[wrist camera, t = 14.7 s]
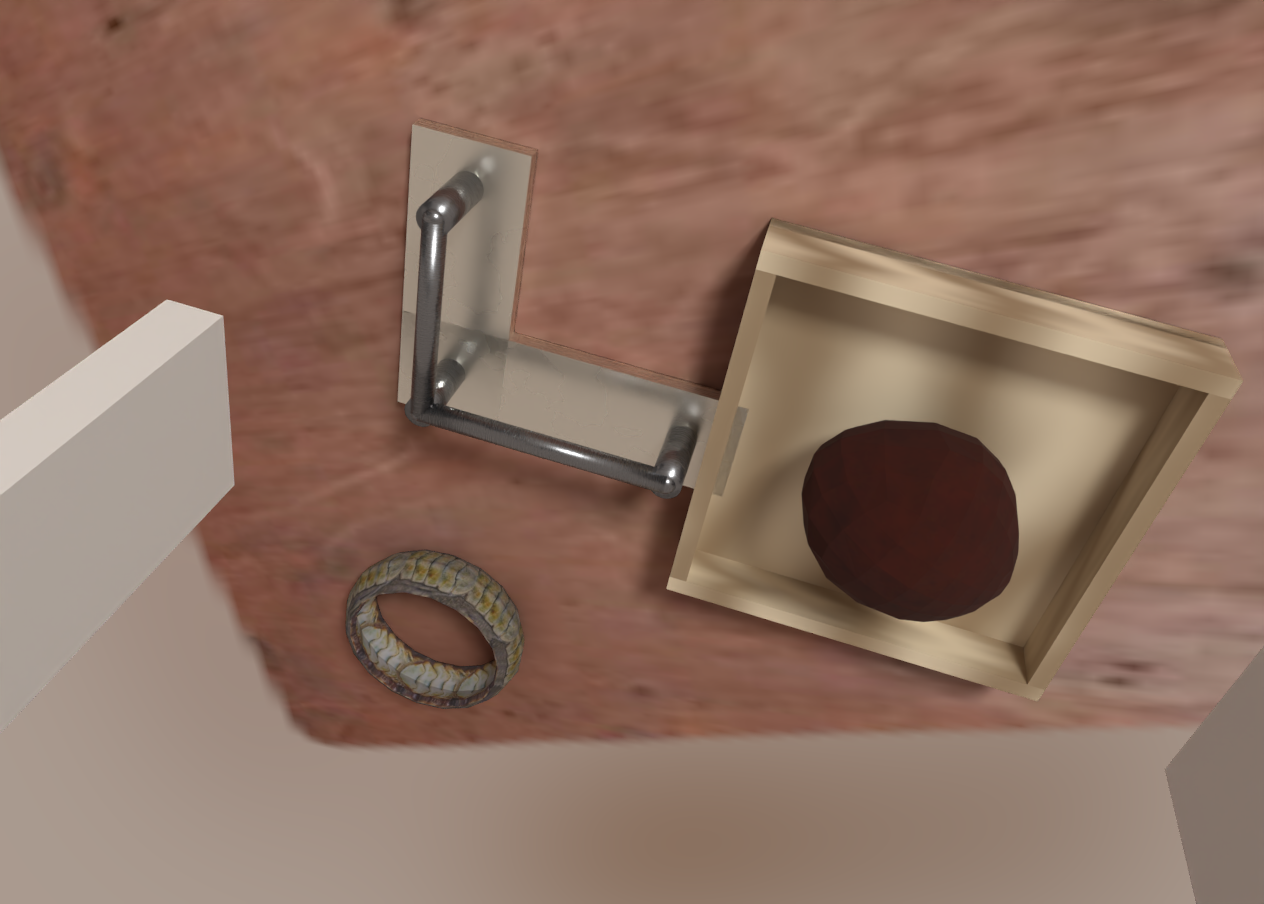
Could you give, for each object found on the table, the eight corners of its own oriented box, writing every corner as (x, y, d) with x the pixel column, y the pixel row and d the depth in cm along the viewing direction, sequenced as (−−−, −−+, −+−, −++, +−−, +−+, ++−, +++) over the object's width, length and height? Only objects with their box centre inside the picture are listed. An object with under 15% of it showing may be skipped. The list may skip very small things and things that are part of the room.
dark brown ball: (938, 574, 47) (940, 699, 41) (769, 470, 46) (745, 582, 40) (1066, 459, 42) (1090, 581, 36) (880, 340, 41) (872, 444, 35)
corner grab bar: (404, 393, 49) (361, 446, 46) (420, 118, 41) (369, 155, 38) (724, 487, 48) (707, 549, 44) (805, 221, 40) (792, 271, 36)
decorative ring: (463, 698, 62) (567, 629, 56) (442, 741, 59) (549, 672, 53) (330, 593, 59) (426, 509, 54) (302, 633, 56) (400, 548, 51)
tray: (679, 546, 51) (666, 588, 48) (771, 218, 40) (760, 249, 38) (1031, 651, 49) (1037, 701, 47) (1222, 339, 39) (1243, 380, 36)
